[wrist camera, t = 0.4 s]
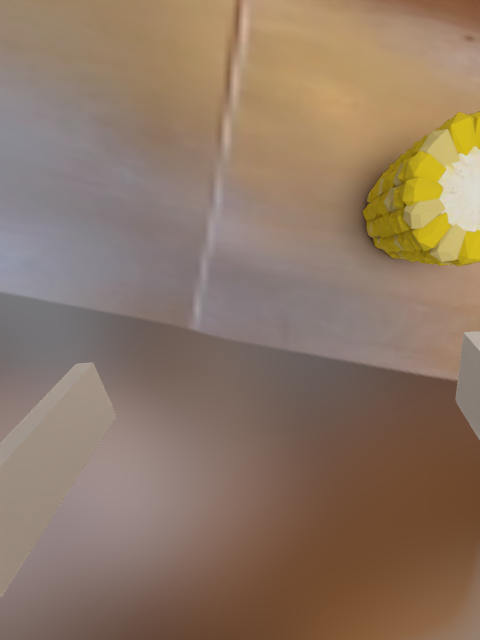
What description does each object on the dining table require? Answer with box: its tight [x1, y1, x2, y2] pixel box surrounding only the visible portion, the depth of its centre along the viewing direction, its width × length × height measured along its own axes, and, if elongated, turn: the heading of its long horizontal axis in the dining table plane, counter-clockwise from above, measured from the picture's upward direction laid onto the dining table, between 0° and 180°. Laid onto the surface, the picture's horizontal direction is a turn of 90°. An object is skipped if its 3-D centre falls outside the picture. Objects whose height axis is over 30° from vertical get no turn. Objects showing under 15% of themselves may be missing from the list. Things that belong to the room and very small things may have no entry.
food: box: [363, 111, 480, 266], centre depth 27 cm, size 15×12×10 cm
